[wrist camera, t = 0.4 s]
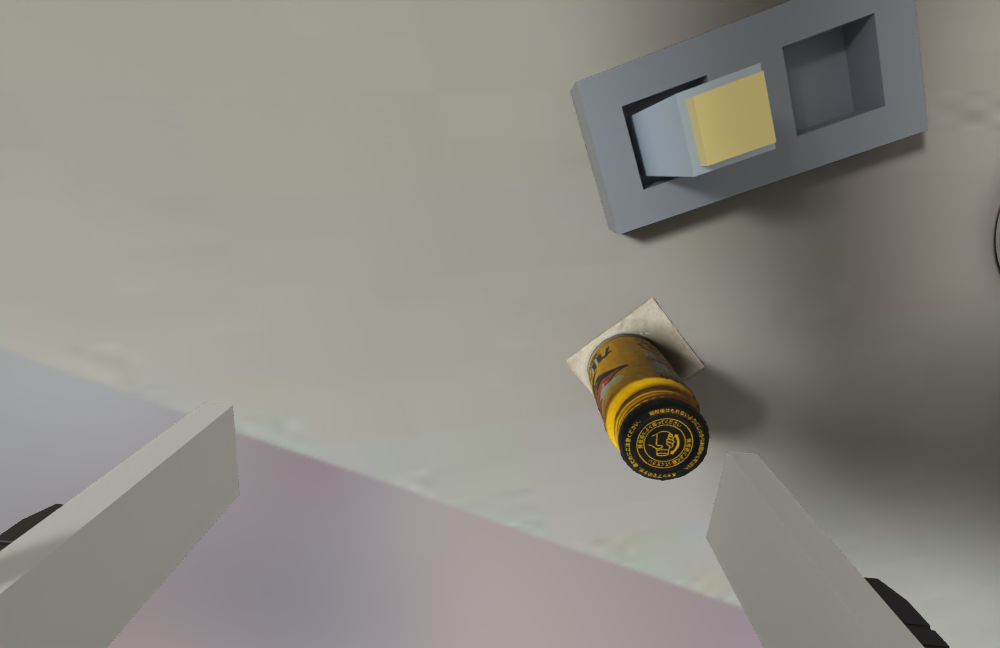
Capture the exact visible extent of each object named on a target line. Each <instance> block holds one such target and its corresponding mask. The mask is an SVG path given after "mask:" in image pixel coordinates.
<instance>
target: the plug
mask: <svg viewBox="0 0 1000 648" xmlns="http://www.w3.org/2000/svg"><path fill="white" fill-rule="evenodd" d="M626 123H627V127H628V131H629V135H630V139H631V143H632V147H633V150H634V154H635V158H636V162H637V166H638V170H639V174H640V176H676V177H695V176H698V175H701V174H704V173H707V172H710V171H713V170H716V169H719V168H721V167H724V166H727V165H730V164H733V163H736V162H739V161H742V160H744V159H747V158H750V157H753V156H756V155H759V154H762V153H765V152H768V151H770V150H773V149H776V147H775V142H776V137H775V132H774V126H773V121H772V115H771V109H770V104H769V98H768V93H767V87H766V82H765V76H764V71H762V70H761V64H760V63H758V64H755V65H753V66H750V67H747V68H745V69H742V70H739V71H736V72H734V73H731V74H728V75H726V76H723V77H720V78H717V79H715V80H712V81H709V82H707V83H704V84H701V85H698V86H696V87H693V88H690V89H688V90H685V91H682V92H680V93H677V94H674V95H672V96H670V97H668V98H666V99H664V100H662V101H660V102H658V103H656V104H654V105H652V106H650V107H648V108H646V109H644V110H642V111H640V112H638V113H636V114H634V115H632V116H630V117H628V118H626Z"/></svg>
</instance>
